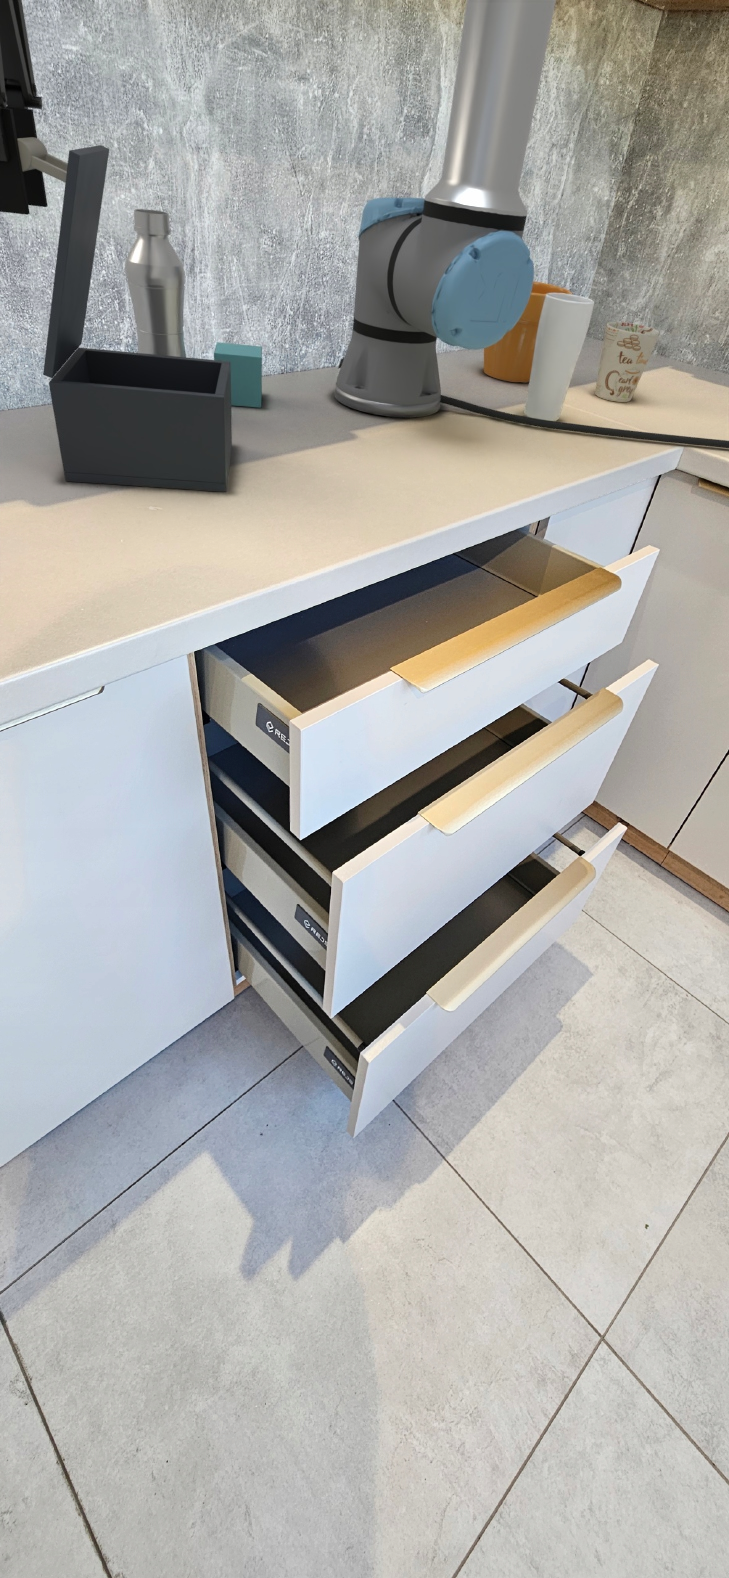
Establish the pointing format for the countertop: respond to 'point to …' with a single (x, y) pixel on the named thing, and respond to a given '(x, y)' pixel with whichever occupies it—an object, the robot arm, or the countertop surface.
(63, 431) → the compartment
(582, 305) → the drinking glass
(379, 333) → the robot arm
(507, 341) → the flower pot
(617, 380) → the mug
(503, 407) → the countertop surface
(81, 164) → the lid
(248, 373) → the detergent carton
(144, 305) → the silver metal bottle
